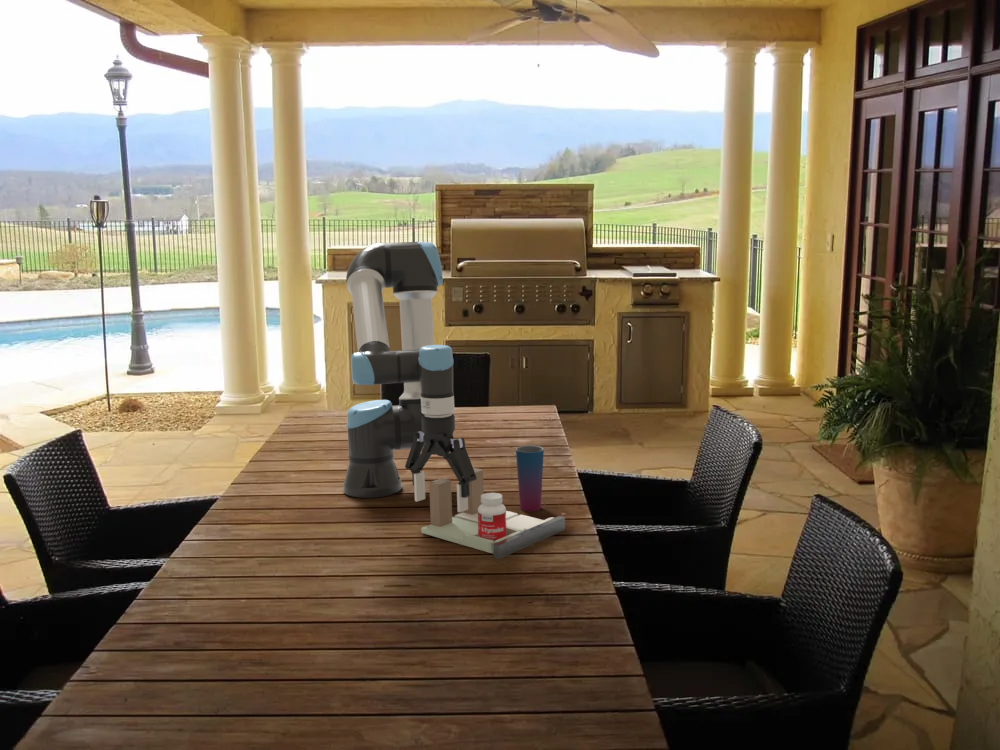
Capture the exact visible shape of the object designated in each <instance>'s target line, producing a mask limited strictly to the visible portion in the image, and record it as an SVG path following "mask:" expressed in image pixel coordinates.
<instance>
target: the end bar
mask: <svg viewBox="0 0 1000 750" xmlns="http://www.w3.org/2000/svg"><path fill="white" fill-rule="evenodd" d="M565 521H566V518H565V516H562V515H559V516H556V517H554V518H553V519H551V520H549V521H546V522H544V523H542V524H539V525H537V526H535V527H532V528H530V529H527V530H525V531H523V532H520V533H518V534H516V535H513V536H511V537H509V538H506V539H504V540H502V541H499V542H497V543H495V544H493V549H494V554H493V558H494V559H497V560H501V559H503V558H505V557H507V556H509V555H511V554H512V555H513V554H514V553H516V552H518V551H521V550H523V549H525V548H527V547H530V546H531V545H534V544H536V543H539V542H541V541H542V540H543V541H544V540H545V539H547V538H550V537H552V536H554V535H556V534H559V533H560V532H563V531H565V530H566V526H565V525H566V522H565Z"/></svg>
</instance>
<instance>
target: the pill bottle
mask: <svg viewBox="0 0 1000 750" xmlns="http://www.w3.org/2000/svg"><path fill="white" fill-rule="evenodd" d="M481 503H482V504H481V505H480V506H479V507H478V537H481V538H485V539H488V540H492V541H496V540H498V539H500V538H503V537H505V536H506V511H507V508H506V506H505V505H504V504H503V494H502V493H498V492H486V493H484V494H482V495H481Z"/></svg>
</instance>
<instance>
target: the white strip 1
mask: <svg viewBox="0 0 1000 750" xmlns="http://www.w3.org/2000/svg"><path fill="white" fill-rule="evenodd" d="M473 469H474V472H475V475H476V477H477V479H476V480H474V481H471V482H470V483H469V491H470V495H469V497H468V510H465V511H462V512H459V513H457V514H454V517H455V518H459V519H463V520H467V521H470V522H474V523H478V507H479V506H480V505H481V504H482V503H481V495H482V494H485V493H484V492H485V491H484V470H483V469H480V468H476V467H473ZM463 478H464V477H463ZM518 515H519V514H518V513H517V512H513V511H510V510H509V511H508V510H506V520H508V519H511V518H513V517H516V516H518Z"/></svg>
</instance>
